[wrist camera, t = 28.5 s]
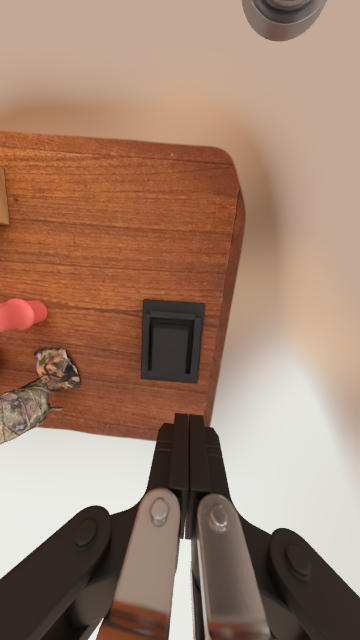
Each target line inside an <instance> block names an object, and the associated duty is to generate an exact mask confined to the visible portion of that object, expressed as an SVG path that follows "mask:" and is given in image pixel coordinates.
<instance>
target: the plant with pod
mask: <svg viewBox="0 0 360 640" xmlns="http://www.w3.org/2000/svg"><path fill="white" fill-rule="evenodd" d="M51 350H52V351H51ZM51 350H47V351H46V349H45V350H43V351H40V350H38V349H37V350H36V351H35V354H34V355H35V356H36V359H37V368H36V369H37V372H38V375H37V376H39V378H37V379H36V380H34V381H32V382H30V383H28V384H26V385H25V386H23V387H21V388H18V389H13V390H12V391H9V392H5V393H3V394H1V395H0V444H2V443H4V442H7V441H10V440H12V439H14V438H16V437H18V436H20V435H21V434H23V433H25V432H26V431H29V430H31V429H33V428H35V427H37V426H38V425H39V424H41V423H42V422H43V421H44V420H45V419H46V416H47V415H48V413H49V412H51V411H54V410H62V409H63V407H50V403H49V402H48V401H49V396H50V393H51V392H52V391H58V390H61V389H66V388H68V389H69V388H72V387H75V386H76V387H77V386H79V384H80V379H79V376H78V372H77V369H76V368H75V366H74V365H73V364H71V363H70V359H69V358H67V355H66V350H65V349H62V348H60V350H59V349H58V348H56V349H53V348H51ZM39 379H40V380H41V381H43V382H40V383H34V382H36V381H37V380H39ZM31 383H34V384H31ZM29 384H31V385H29ZM48 387H49V389H50V390H51V389H52V390H51V392H50V391H49V390H48ZM76 387H75V388H76Z"/></svg>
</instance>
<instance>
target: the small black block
mask: <svg viewBox="0 0 360 640" xmlns="http://www.w3.org/2000/svg"><path fill="white" fill-rule="evenodd" d="M187 340H188V324H176V323H162V322H158V323H157V324H156V325H155V327H154V328H153V350H152V373H160V374H172V375H185V366H186V353H187Z"/></svg>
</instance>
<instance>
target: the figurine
mask: <svg viewBox="0 0 360 640" xmlns="http://www.w3.org/2000/svg"><path fill="white" fill-rule="evenodd" d="M46 317H47V308H46V306H45V305H44V304H43V303H42V302H40V301H37V300H30V301H24V300H22V299H17V298H15V299H10V300H8V301H7V302H3V303H0V332H3V331H7V330H10V329H19V330H23V329H27V328H29V327H30V326H31V325H32V324H34V323H38V322H42V321H44V320H45V319H46Z"/></svg>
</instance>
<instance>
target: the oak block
mask: <svg viewBox="0 0 360 640" xmlns="http://www.w3.org/2000/svg"><path fill="white" fill-rule="evenodd" d="M0 224H3V225H10V223H9V213H8V204H7V195H6V185H5V176H4V168H3V167H1V166H0Z"/></svg>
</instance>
